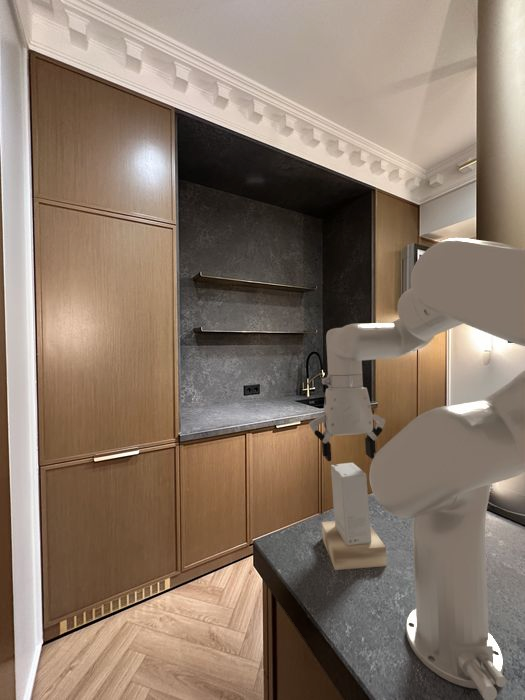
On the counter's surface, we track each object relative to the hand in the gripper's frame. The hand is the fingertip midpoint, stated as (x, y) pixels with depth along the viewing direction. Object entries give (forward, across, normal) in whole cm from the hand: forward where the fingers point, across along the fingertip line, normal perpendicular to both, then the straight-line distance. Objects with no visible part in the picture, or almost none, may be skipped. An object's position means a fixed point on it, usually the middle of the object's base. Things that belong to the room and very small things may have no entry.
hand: (349, 457), depth 71 cm
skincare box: (+18, 0, 0) cm, 18 cm away
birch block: (+21, 0, +1) cm, 21 cm away
